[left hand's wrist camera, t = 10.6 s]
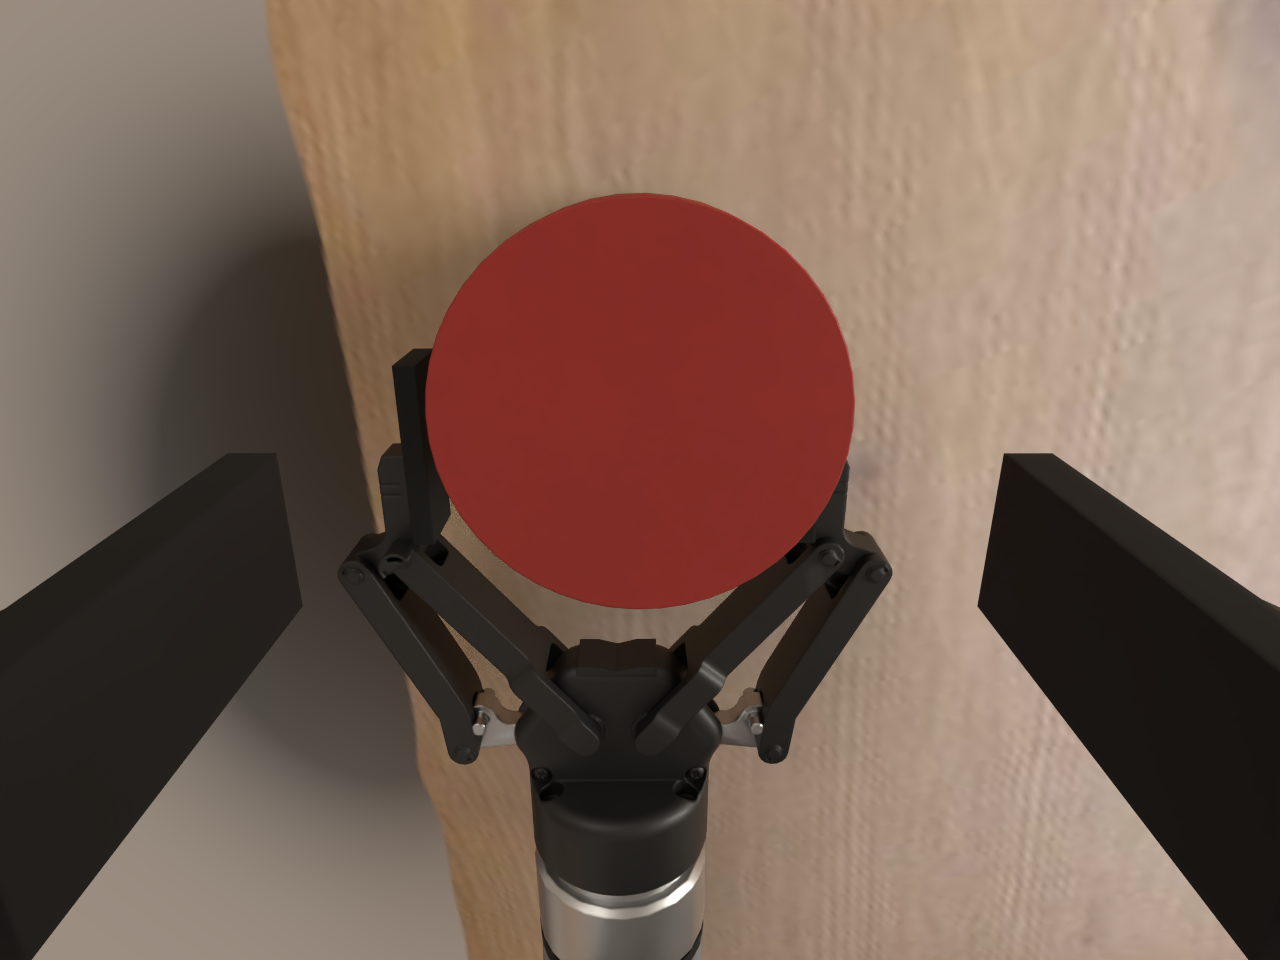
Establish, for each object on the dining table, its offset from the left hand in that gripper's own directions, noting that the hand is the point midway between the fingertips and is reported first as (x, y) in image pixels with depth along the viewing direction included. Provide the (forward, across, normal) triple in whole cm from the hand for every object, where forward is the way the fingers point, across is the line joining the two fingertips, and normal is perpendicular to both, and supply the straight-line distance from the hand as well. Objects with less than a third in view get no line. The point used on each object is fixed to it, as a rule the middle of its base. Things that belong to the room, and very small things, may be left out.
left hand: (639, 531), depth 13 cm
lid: (+6, 0, 0) cm, 6 cm away
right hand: (+16, +1, 0) cm, 16 cm away
